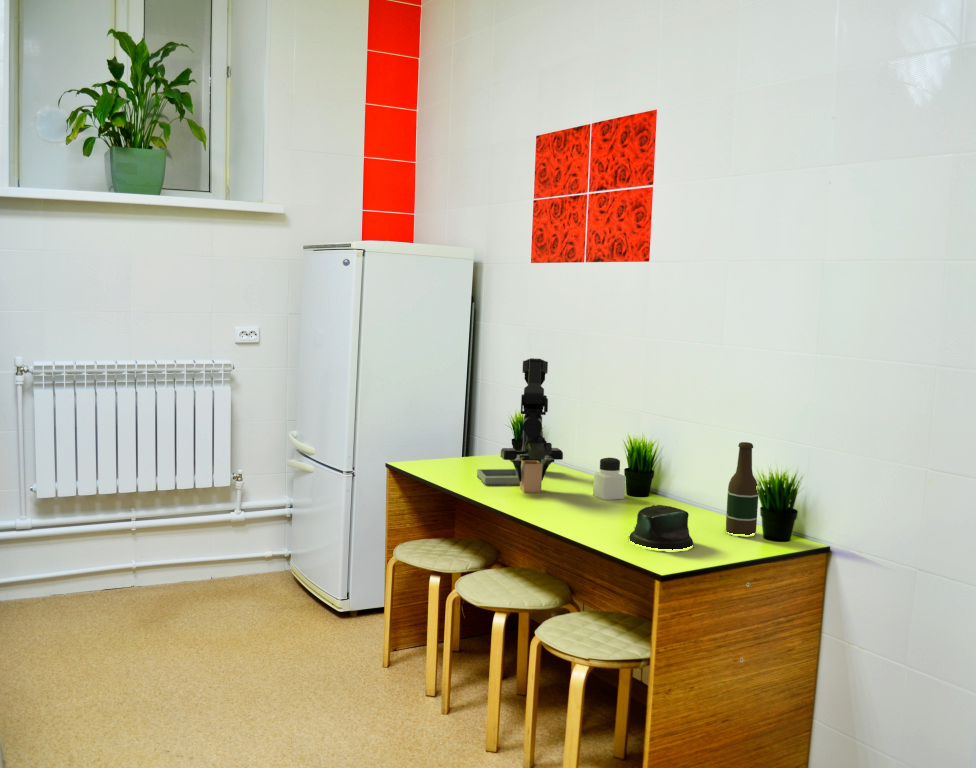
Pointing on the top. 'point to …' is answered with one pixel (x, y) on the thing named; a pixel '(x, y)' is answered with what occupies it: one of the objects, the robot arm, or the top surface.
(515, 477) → the tray
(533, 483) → the terracotta cup
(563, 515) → the top surface
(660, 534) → the dark green bucket hat
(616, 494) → the medicine bottle
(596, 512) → the top surface
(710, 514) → the top surface
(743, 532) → the beer bottle
